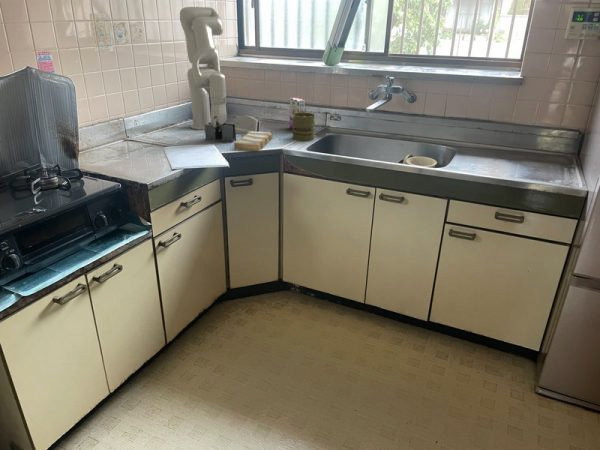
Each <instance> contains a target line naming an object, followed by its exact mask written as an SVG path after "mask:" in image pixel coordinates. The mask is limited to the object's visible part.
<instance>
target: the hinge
mask: <svg viewBox="0 0 600 450" xmlns="http://www.w3.org/2000/svg"><path fill="white" fill-rule="evenodd" d="M233 124H235V129H236V134H241V135H246V134H247V133H248V132H250V131H254V132H261V130H260V129H261V124H262V123H261V121H260V120H259V119H257V117H253V116H250V115H246V114H245V115H242V114H241V115H237V116H236V117H235V119H234V122H233Z"/></svg>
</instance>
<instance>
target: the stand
mask: <svg viewBox="0 0 600 450" xmlns="http://www.w3.org/2000/svg"><path fill="white" fill-rule="evenodd" d="M273 136H274V135H273V132H269V131H268V132H266V131H260V132H254V131H250V132H248V133H247V134H246V135H245V134H243V136H241V137H240V138H239V139H237V140H235V141H234V142H233V143H234V145H233V146H234V148H233V149H234V150H236V149H238V150H239V151H249V150H252V151H253V152H260V151H261V150H262V149H264V147H265V146H266V145H268V144H269V143H270V142H271V140H273V139H274V137H273Z"/></svg>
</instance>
